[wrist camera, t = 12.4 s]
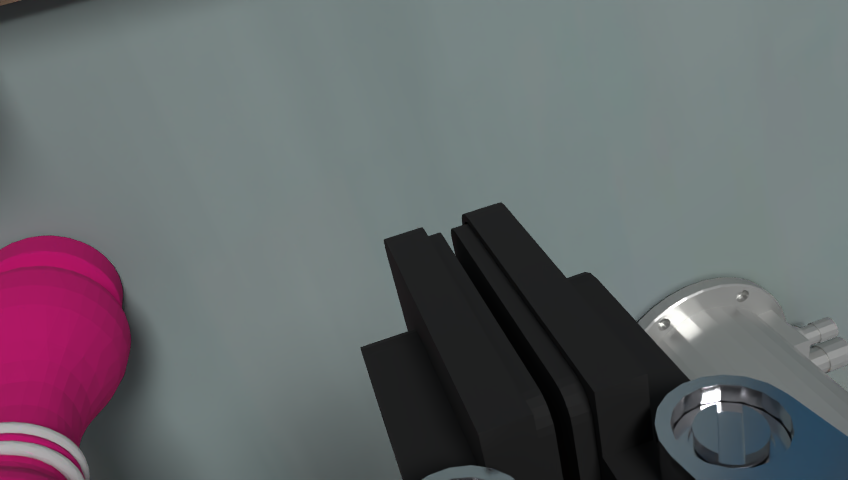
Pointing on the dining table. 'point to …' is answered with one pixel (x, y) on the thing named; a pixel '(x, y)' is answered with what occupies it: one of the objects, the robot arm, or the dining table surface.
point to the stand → (7, 1)
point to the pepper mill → (56, 353)
